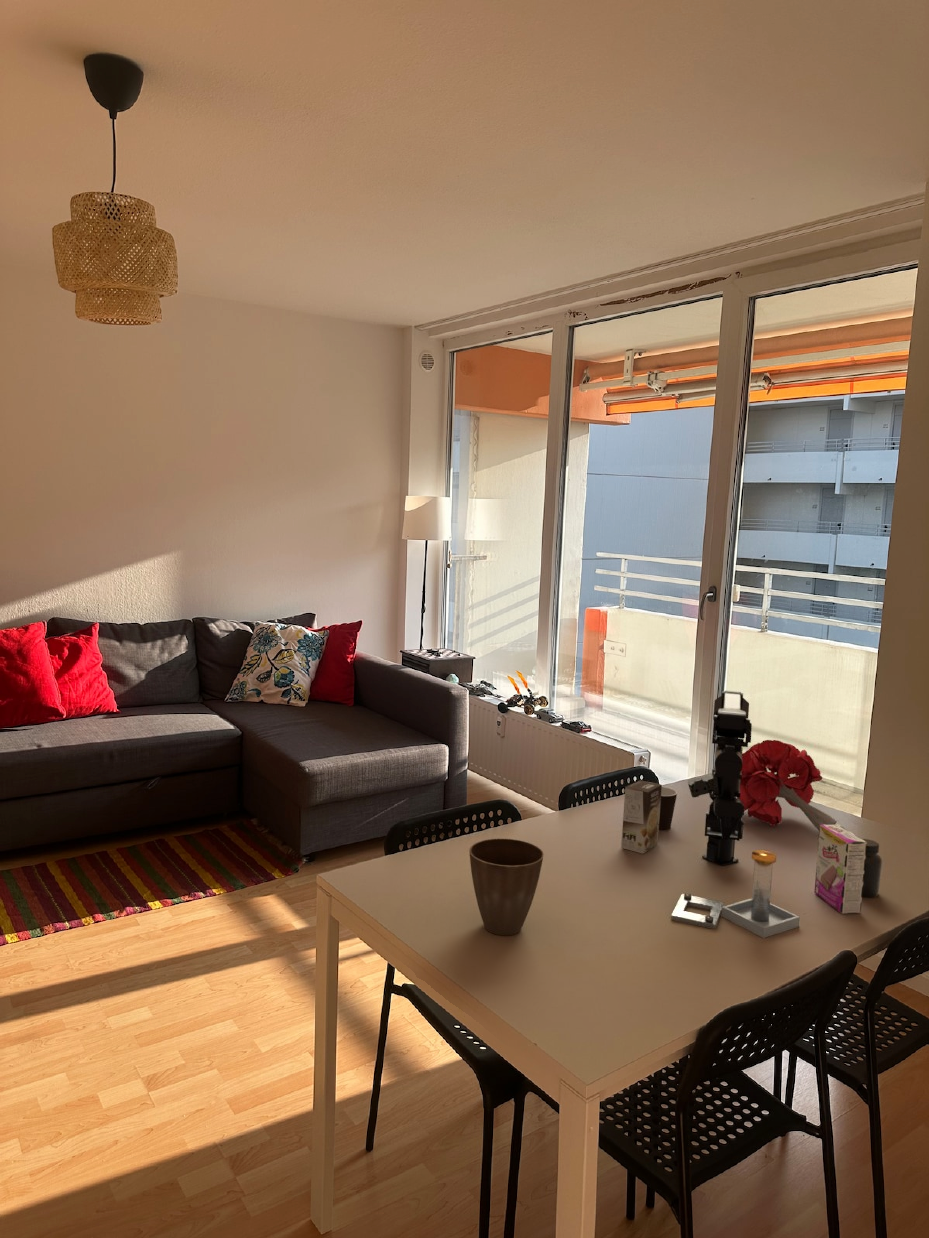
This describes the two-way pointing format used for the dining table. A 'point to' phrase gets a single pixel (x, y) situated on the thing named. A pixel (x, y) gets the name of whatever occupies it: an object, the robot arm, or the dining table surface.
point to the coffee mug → (667, 808)
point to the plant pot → (505, 882)
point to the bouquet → (779, 782)
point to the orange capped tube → (762, 884)
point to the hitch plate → (697, 919)
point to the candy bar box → (840, 868)
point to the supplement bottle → (872, 870)
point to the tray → (776, 924)
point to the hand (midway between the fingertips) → (723, 833)
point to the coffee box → (641, 816)
